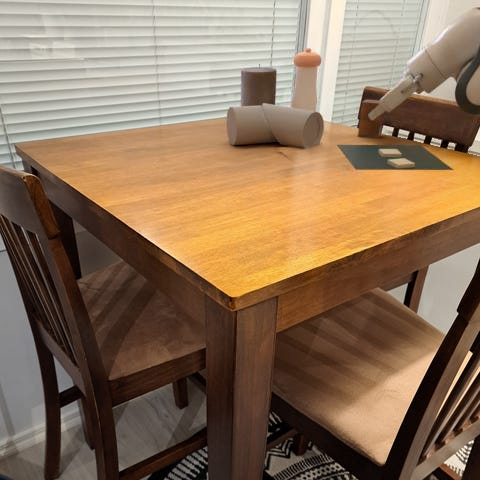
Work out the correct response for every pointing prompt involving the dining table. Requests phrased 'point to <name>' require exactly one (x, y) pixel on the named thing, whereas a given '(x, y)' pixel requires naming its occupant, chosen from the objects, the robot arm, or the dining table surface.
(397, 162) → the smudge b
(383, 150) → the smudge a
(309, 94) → the pepper shaker
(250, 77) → the pillar candle
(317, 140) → the l-shaped cylinder
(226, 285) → the dining table surface
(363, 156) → the board
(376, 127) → the brown upright block
